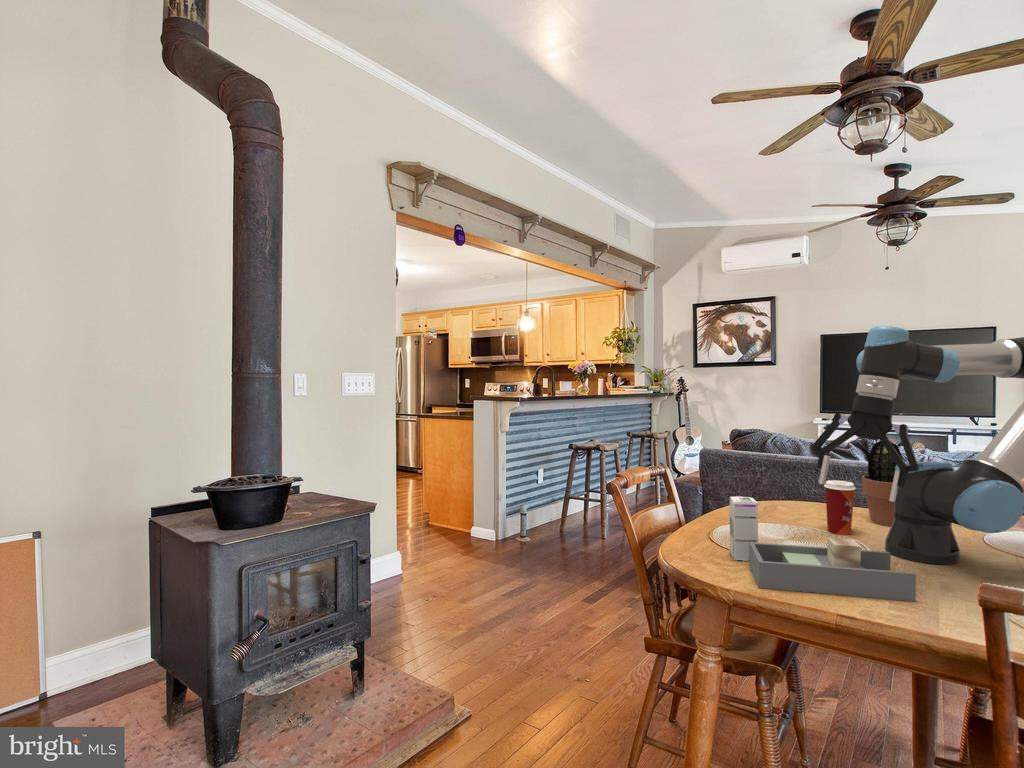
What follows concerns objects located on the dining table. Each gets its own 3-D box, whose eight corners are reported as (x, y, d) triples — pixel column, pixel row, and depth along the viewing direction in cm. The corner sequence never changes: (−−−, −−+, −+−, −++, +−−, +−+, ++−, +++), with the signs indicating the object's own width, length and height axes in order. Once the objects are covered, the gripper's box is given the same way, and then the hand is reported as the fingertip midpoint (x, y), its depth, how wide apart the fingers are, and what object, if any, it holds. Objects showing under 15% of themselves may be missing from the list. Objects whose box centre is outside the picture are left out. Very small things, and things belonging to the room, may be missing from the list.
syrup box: (758, 562, 137) (759, 502, 136) (732, 560, 138) (733, 501, 137) (753, 554, 142) (754, 496, 142) (728, 553, 143) (729, 495, 143)
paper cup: (854, 537, 155) (855, 486, 155) (822, 533, 159) (823, 483, 159) (855, 530, 162) (856, 481, 162) (824, 526, 166) (825, 478, 166)
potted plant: (928, 528, 163) (929, 441, 162) (880, 529, 163) (882, 442, 162) (895, 516, 177) (896, 435, 176) (851, 516, 177) (853, 436, 176)
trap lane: (888, 576, 127) (888, 551, 127) (915, 601, 114) (916, 574, 114) (748, 565, 135) (749, 542, 134) (758, 587, 121) (759, 562, 121)
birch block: (852, 562, 125) (853, 539, 125) (860, 570, 120) (860, 546, 120) (827, 560, 126) (827, 537, 126) (834, 568, 121) (834, 544, 121)
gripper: (809, 386, 130) (790, 477, 131) (944, 405, 114) (922, 509, 114) (817, 389, 136) (799, 477, 136) (946, 408, 120) (926, 508, 120)
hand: (855, 492), depth 125 cm, fingers open, 13 cm apart
